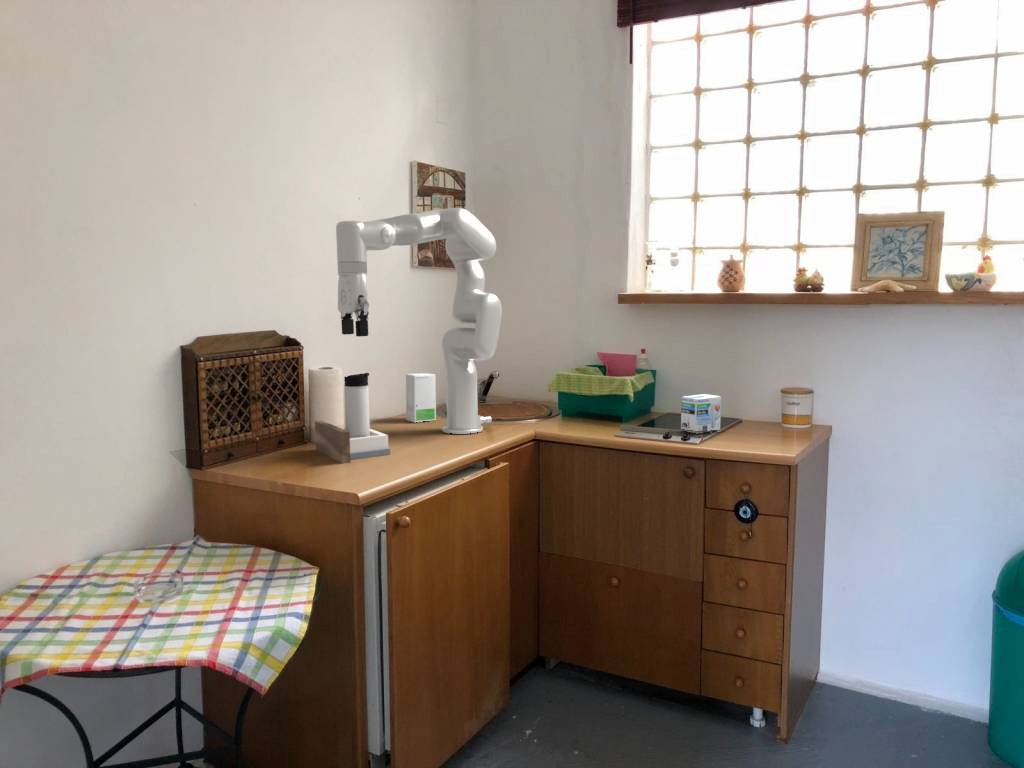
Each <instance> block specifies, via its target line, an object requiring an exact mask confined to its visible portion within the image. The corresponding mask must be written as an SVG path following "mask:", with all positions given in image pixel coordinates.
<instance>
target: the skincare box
mask: <svg viewBox="0 0 1024 768" xmlns="http://www.w3.org/2000/svg"><path fill="white" fill-rule="evenodd" d="M436 377H437V375H436V373H435V374H433V373H406V374H405V390H406V393H405V394H406V396H405V397H406V398H405V399H406V401H405V402H406V403H405V405H406V408H405V409H406V410H405V411H406V421H407V420H408V421H407V422H410V421H411V423H413V422H414V423H416V422H417V423H424V422H423V421H430V422H432V421H431V420H436V421H437V402H436V401H437V398H436V397H437V394H436V393H437V392H436V389H437V388H436V383H437V381H436V379H437V378H436ZM414 423H413V424H414Z"/></svg>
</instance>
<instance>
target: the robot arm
mask: <svg viewBox="0 0 1024 768" xmlns="http://www.w3.org/2000/svg"><path fill="white" fill-rule="evenodd" d="M335 227H336V228H335V233H336V234H335V237H336V239H335V241H336V256H337V257H336V258H337V259H336V260H337V275H338V281H337V282H338V284H337V310H338V312H339V313H340V321H341V322H340V323H341V334H342V335H354V334H355V336H356V337H359V338H360V337H367V336H369V309H370V308H369V307H370V304H369V298H368V286H367V285H368V284H367V277H366V276H367V275H368V255H367V251H368V252H370V251H384V250H387V249H389V248H390V247H392V246H400V247H401V246H403V247H404V246H413V245H420V244H423V243H429V242H433V241H438V240H439V241H440V240H445V244H444V245H445V246H444V247H445V251H446V254H447V256H448V257H449V259H450V260H451V262H452V265H454V267H455V271H456V287H455V292H454V299H453V305H452V317H453V319H454V320H455V321H456V322H458V323H461V324H468V325H475V327H474V328H473V327H453V328H451V329H448V330H447V331H446V332H445V333H444V334H443V336H442V341H441V347H442V353H443V357H444V364H445V388H446V389H445V391H446V393H445V394H446V395H445V396H446V398H445V399H446V402H445V403H446V406H445V407H446V425H443V426H442V427H441V431H442V433H445V434H450V433H452V435H469V434H470V433H471V434H478V433H480V432H483V430H484V426H483V424H485V423H486V424H487V423H492V419H493V418H492V417H491V416H489V415H487V416H481V415H480V414H478V413H479V412H478V411H479V410H478V407H479V406H478V405H479V404H478V403H479V401H478V371H477V367H476V365H475V362H474V361H488V360H490V359H491V358H492V357H493V356H494V355H495V352H496V350H497V348H498V347H497V346H498V342H499V336H500V328H501V323H502V316H503V307H502V302H501V300H500V298H499V297H498V296H497V295H496V294H494V293H492V292H485V283H486V276H485V271H484V269H483V267H482V266H481V263H479V261H488V260H490V259H492V258H493V257H494V256H495V253H496V251H497V241H496V239H495V237H494V235H493V233H492V232H491V231H490V230H489V229H488V228H487V227H485V225H484V224H483V223H482V222H481V221H480V220H479V219H478V218H477V217H476V216H475V215H474V214H473V213H471V212H470V211H469V210H468V209H465V208H463V207H451V208H440V209H438V208H437V209H433V210H426V211H419V212H413V213H406V214H401V215H400V214H399V215H396V216H393V217H387V218H381V219H375V220H369V221H359V220H342V221H339V222H337V224H336V225H335ZM353 316H355V318H356V320H355V326H354V318H353ZM477 432H478V433H477Z"/></svg>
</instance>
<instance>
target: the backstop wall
mask: <svg viewBox="0 0 1024 768" xmlns="http://www.w3.org/2000/svg"><path fill="white" fill-rule="evenodd" d="M314 436H315V451H316V452H319V453H321V454H323V455H325V456H327V457H329V458H331V459H333V460H335V461H337V462H339V463H341V464H349V463H351V460H350V434H349V431H346V429H343V428H341V427H339V426H337V425H334V424H331V423H329V422H326V421H324V420H316V421H314Z"/></svg>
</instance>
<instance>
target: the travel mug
mask: <svg viewBox="0 0 1024 768" xmlns="http://www.w3.org/2000/svg"><path fill="white" fill-rule="evenodd" d="M369 377H370V372H365V373H357V374H351V375H347V376H344V380H343V381H344V386H343V387H344V411H345V412H344V414H345V415H344V417H345V418H344V421H345V430H346V431H349V434H350V439H351V438H359V437H368V436H370V429H371V428H370V427H371V426H370V424H371V423H370V397H369V396H370V395H369V391H370V390H369Z"/></svg>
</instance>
